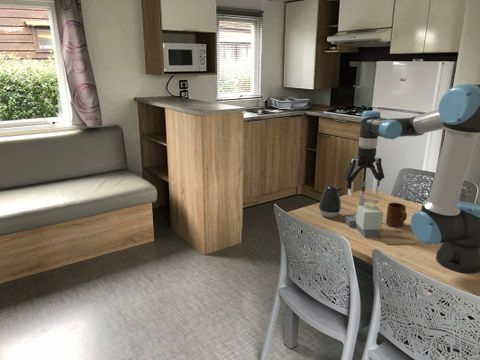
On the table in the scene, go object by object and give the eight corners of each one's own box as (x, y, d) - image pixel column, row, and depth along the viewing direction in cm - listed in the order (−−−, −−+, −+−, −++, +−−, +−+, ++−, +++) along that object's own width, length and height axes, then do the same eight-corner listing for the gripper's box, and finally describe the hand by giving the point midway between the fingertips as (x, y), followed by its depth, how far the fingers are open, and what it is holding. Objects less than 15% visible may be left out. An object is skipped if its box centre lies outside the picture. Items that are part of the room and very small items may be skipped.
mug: (411, 231, 168) (414, 211, 165) (395, 232, 167) (398, 212, 164) (398, 221, 179) (400, 202, 176) (382, 221, 178) (385, 202, 176)
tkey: (375, 214, 176) (379, 183, 172) (376, 221, 169) (380, 188, 164) (358, 212, 178) (361, 181, 174) (357, 218, 171) (361, 186, 167)
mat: (415, 244, 156) (415, 243, 156) (386, 244, 155) (387, 244, 155) (401, 231, 167) (401, 231, 167) (374, 232, 166) (374, 231, 166)
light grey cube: (381, 229, 162) (383, 211, 160) (362, 229, 161) (364, 212, 159) (373, 222, 170) (375, 205, 167) (355, 222, 169) (357, 205, 167)
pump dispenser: (342, 219, 180) (345, 189, 175) (320, 219, 180) (322, 188, 176) (337, 211, 190) (340, 182, 185) (316, 211, 190) (319, 182, 185)
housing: (385, 236, 162) (386, 229, 161) (358, 237, 161) (359, 229, 160) (368, 220, 180) (369, 212, 179) (343, 220, 179) (344, 213, 178)
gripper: (386, 144, 171) (380, 190, 178) (338, 146, 166) (334, 193, 172) (396, 147, 165) (390, 195, 171) (347, 149, 159) (342, 199, 165)
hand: (362, 194), depth 171 cm, fingers open, 11 cm apart
